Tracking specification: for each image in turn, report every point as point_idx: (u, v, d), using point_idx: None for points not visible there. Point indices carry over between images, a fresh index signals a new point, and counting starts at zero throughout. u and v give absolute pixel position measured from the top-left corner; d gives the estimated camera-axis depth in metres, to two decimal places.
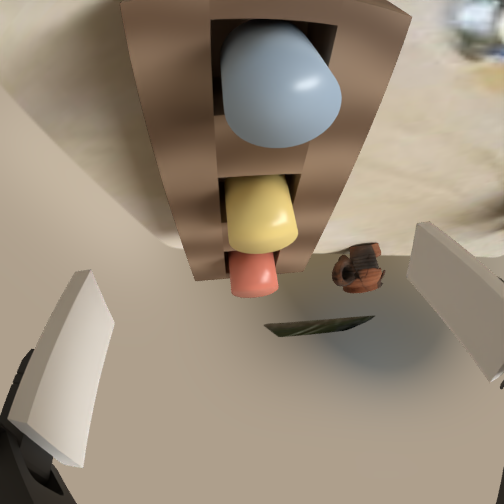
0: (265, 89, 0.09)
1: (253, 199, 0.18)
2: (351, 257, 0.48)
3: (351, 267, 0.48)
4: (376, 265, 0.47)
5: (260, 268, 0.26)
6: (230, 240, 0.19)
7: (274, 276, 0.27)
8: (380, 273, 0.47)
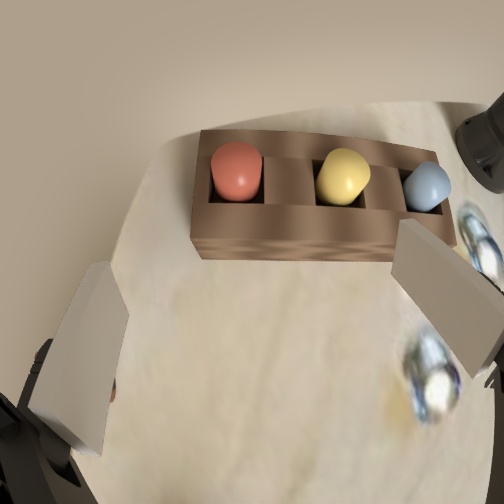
0: (439, 174, 0.26)
1: None
2: None
3: None
4: None
5: (260, 174, 0.26)
6: (345, 149, 0.26)
7: (250, 184, 0.25)
8: None
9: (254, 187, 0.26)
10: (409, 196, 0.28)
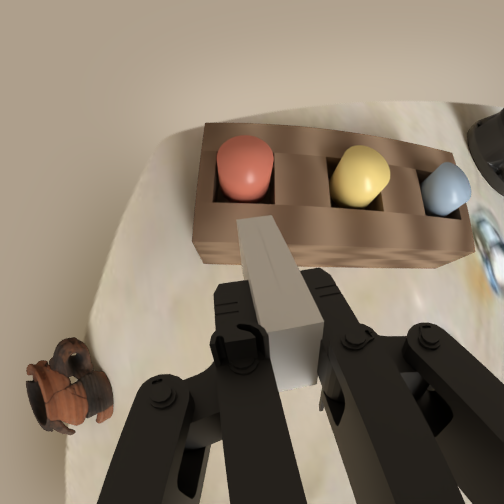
0: (459, 176, 0.23)
1: None
2: (94, 372, 0.26)
3: (82, 371, 0.24)
4: (91, 413, 0.23)
5: None
6: (363, 146, 0.23)
7: (260, 182, 0.22)
8: (77, 422, 0.21)
9: (264, 186, 0.24)
10: (428, 199, 0.25)
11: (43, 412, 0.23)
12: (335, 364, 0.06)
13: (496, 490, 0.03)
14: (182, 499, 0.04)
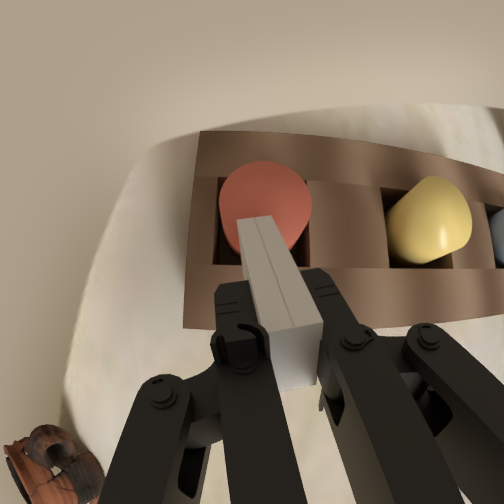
0: None
1: None
2: (80, 458, 0.17)
3: (65, 460, 0.16)
4: (82, 503, 0.14)
5: None
6: (438, 178, 0.14)
7: (290, 242, 0.14)
8: None
9: (294, 242, 0.15)
10: (498, 245, 0.16)
11: None
12: (335, 364, 0.06)
13: (496, 490, 0.03)
14: (182, 499, 0.04)
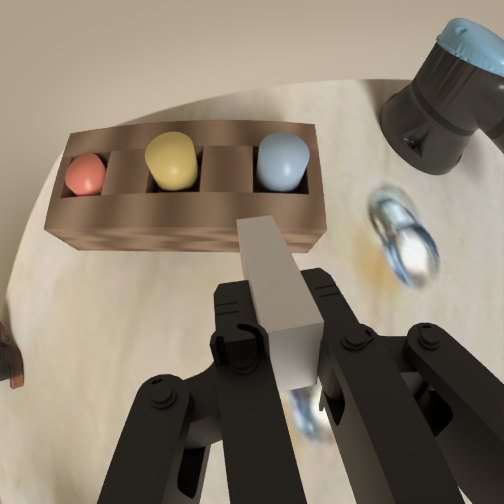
0: (293, 144, 0.25)
1: None
2: (8, 346, 0.27)
3: None
4: (2, 377, 0.24)
5: (103, 179, 0.27)
6: (172, 132, 0.25)
7: (91, 189, 0.26)
8: None
9: (99, 191, 0.27)
10: (259, 175, 0.27)
11: None
12: (335, 364, 0.06)
13: (496, 490, 0.03)
14: (182, 498, 0.04)
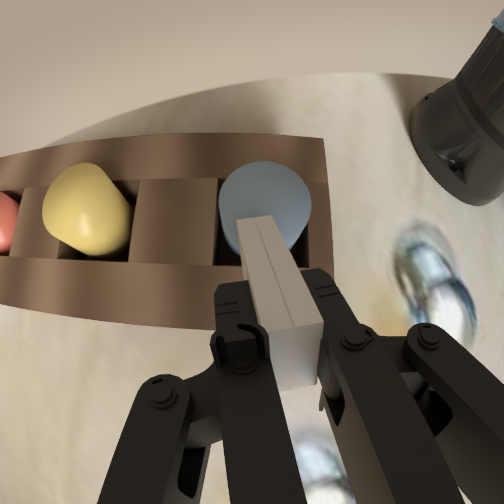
0: (282, 186, 0.14)
1: (119, 199, 0.15)
2: None
3: None
4: None
5: None
6: (83, 164, 0.14)
7: (0, 245, 0.16)
8: None
9: None
10: (225, 235, 0.16)
11: None
12: (335, 364, 0.06)
13: (496, 490, 0.03)
14: (182, 499, 0.04)
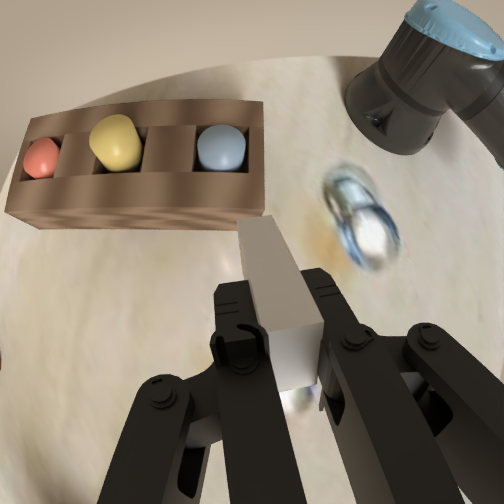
0: (230, 137, 0.26)
1: (137, 135, 0.24)
2: None
3: None
4: None
5: None
6: (116, 115, 0.23)
7: (45, 172, 0.24)
8: None
9: None
10: (200, 165, 0.28)
11: None
12: (335, 364, 0.06)
13: (496, 490, 0.03)
14: (182, 498, 0.04)
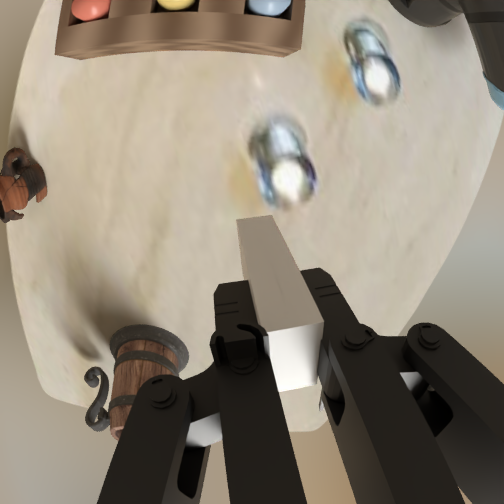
0: None
1: None
2: (31, 166, 0.33)
3: (22, 168, 0.31)
4: (31, 196, 0.33)
5: (108, 4, 0.21)
6: None
7: (98, 14, 0.21)
8: (23, 206, 0.33)
9: (105, 13, 0.22)
10: (248, 7, 0.25)
11: (3, 211, 0.34)
12: (335, 364, 0.06)
13: (496, 490, 0.03)
14: (182, 499, 0.04)
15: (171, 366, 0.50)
